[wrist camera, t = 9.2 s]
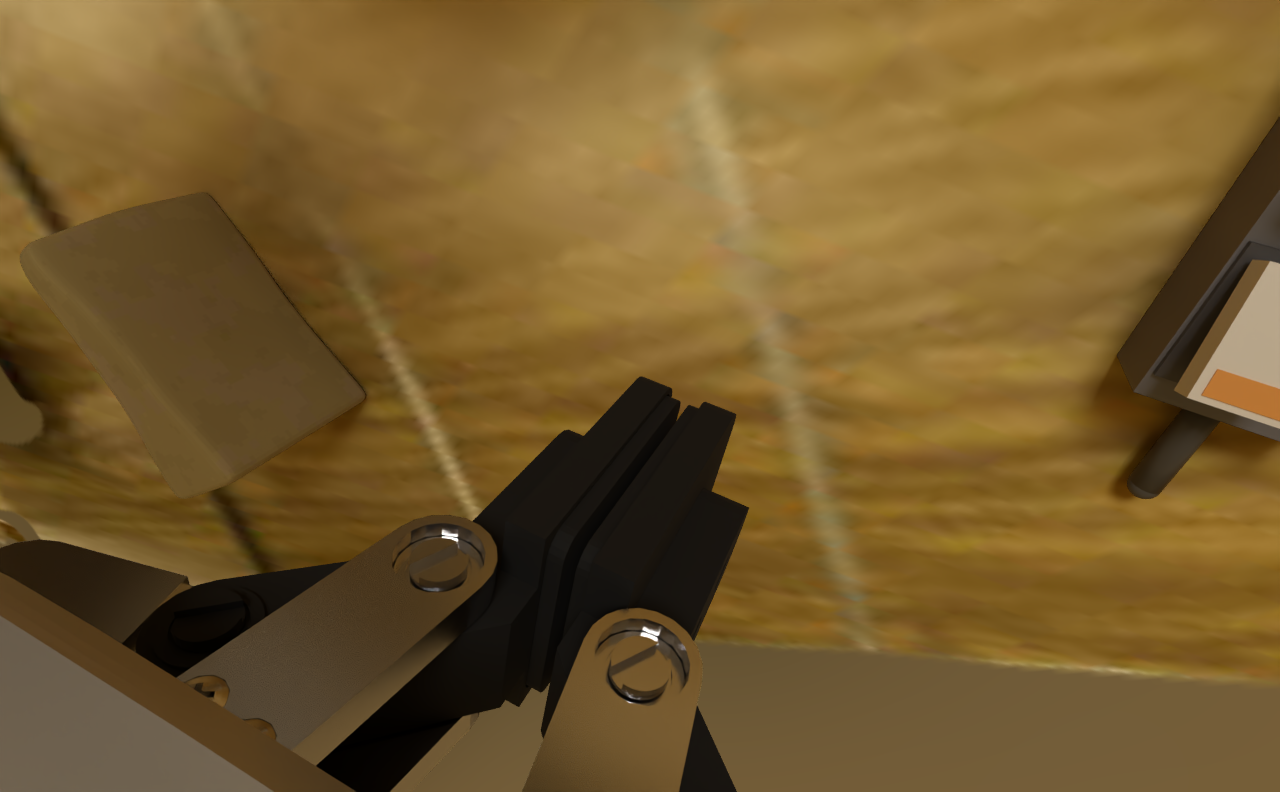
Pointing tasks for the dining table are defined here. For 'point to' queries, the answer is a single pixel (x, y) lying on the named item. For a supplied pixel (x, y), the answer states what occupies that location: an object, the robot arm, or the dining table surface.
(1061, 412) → the dining table surface
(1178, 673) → the dining table surface
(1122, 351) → the power strip
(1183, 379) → the block
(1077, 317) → the dining table surface
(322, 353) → the beige slab
